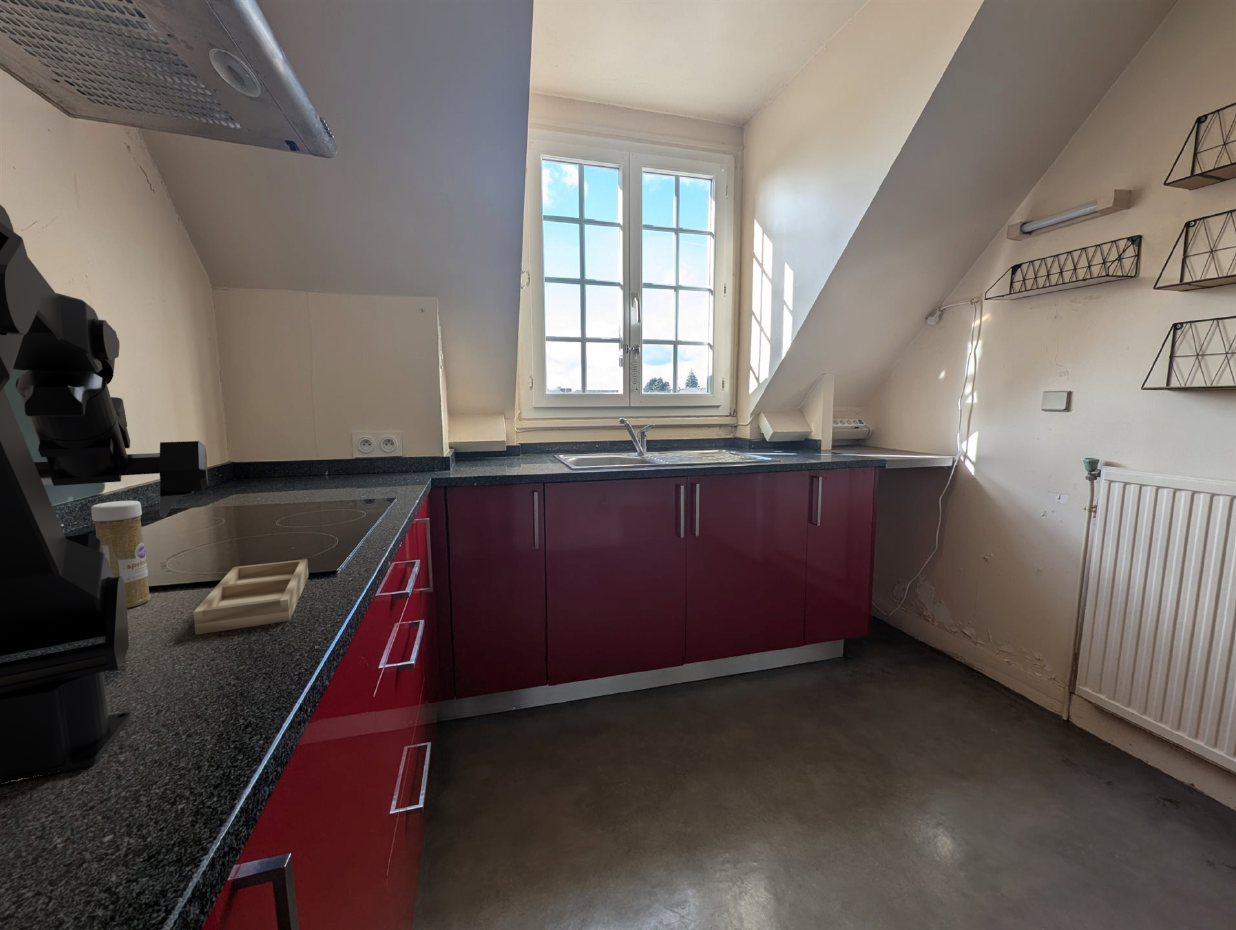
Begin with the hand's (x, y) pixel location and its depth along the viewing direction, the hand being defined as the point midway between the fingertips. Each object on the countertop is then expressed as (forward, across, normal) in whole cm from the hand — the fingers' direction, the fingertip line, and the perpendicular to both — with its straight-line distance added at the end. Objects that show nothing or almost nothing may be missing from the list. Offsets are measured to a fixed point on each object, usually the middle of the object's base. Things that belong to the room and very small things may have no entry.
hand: (110, 519), depth 59 cm
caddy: (+9, -13, +9) cm, 18 cm away
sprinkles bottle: (+15, +1, +2) cm, 15 cm away
